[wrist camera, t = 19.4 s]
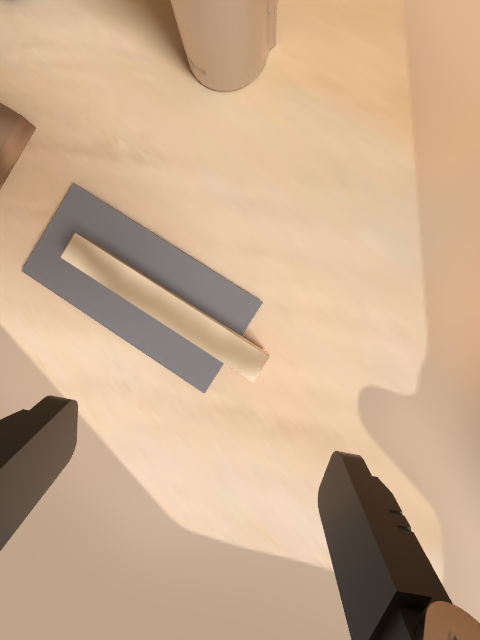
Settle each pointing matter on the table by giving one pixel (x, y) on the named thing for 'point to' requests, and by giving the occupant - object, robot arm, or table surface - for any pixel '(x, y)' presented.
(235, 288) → the charcoal mat
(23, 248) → the table surface
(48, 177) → the table surface
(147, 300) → the birch bar
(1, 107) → the walnut pedestal
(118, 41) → the table surface
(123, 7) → the table surface
